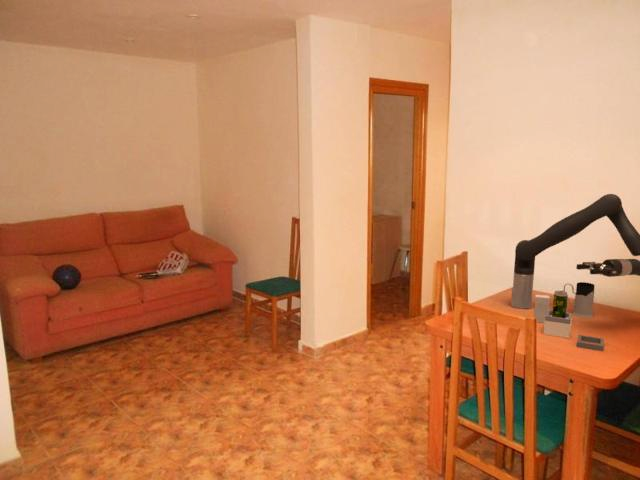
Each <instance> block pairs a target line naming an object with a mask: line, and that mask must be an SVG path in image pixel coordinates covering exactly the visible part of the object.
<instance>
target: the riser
mask: <svg viewBox="0 0 640 480" xmlns="http://www.w3.org/2000/svg"><path fill="white" fill-rule="evenodd" d="M552 311H553V309H552V310H550V309H549V310H548V311H547V314H546V317H545V323H543V325H544V326H543V335H545V336H547V335H548V336H553V337H560V338H567V339H570V337H571V332H572V321H573V312H572V313H571V312H566V318H559V317H552Z"/></svg>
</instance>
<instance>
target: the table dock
mask: <svg viewBox="0 0 640 480" xmlns="http://www.w3.org/2000/svg"><path fill="white" fill-rule="evenodd" d="M604 346H605V338H603V337H597V336H589V335H583V334H578V337H577V342H576V347H577V348H581V349H582V348H583V349H589V350H594V351H601V352H604Z"/></svg>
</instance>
